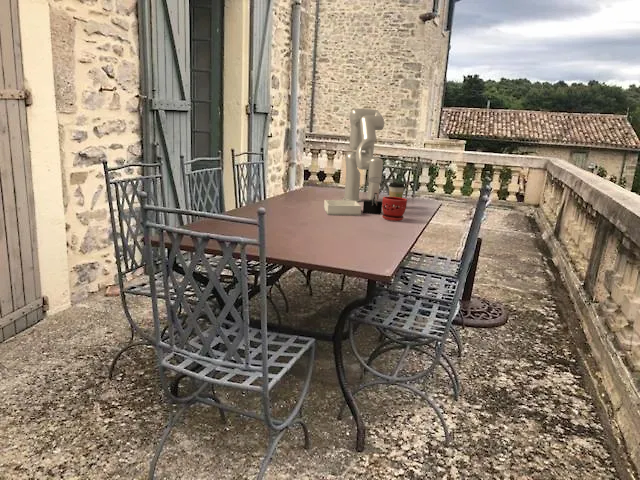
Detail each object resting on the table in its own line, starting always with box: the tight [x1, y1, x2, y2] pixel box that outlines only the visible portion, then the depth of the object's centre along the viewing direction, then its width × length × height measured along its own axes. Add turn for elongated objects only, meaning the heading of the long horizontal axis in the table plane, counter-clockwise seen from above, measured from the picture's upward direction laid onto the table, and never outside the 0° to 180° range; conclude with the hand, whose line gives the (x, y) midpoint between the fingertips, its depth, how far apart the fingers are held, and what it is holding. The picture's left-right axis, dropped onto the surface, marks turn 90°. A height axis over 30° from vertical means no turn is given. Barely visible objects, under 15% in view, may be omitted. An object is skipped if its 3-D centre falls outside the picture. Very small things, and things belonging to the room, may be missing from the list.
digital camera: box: [362, 199, 383, 216], centre depth 280 cm, size 10×5×7 cm, turn 77°
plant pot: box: [381, 196, 408, 222], centre depth 264 cm, size 13×13×12 cm
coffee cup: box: [388, 181, 406, 207], centre depth 300 cm, size 10×10×15 cm
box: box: [323, 199, 362, 217], centre depth 277 cm, size 17×19×6 cm
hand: (372, 210), depth 280 cm, fingers closed on digital camera, 6 cm apart
